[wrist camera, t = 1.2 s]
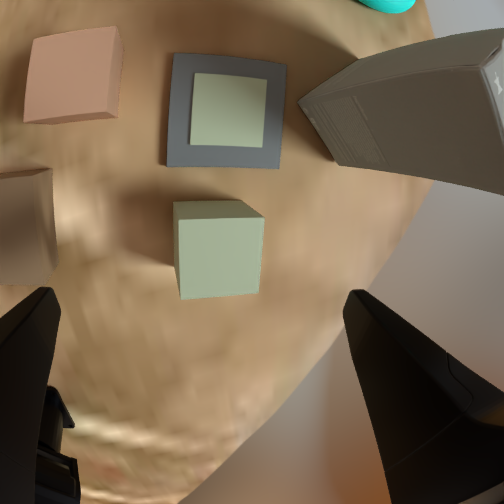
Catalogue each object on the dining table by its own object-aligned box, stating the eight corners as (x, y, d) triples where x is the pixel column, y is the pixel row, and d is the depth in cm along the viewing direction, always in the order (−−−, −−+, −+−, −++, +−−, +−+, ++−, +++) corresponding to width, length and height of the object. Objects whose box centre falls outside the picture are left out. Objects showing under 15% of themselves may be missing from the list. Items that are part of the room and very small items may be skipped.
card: (276, 168, 22) (280, 169, 21) (166, 166, 19) (166, 167, 19) (283, 66, 19) (288, 64, 18) (173, 55, 16) (174, 51, 16)
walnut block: (59, 260, 19) (44, 285, 16) (-10, 262, 17) (-31, 284, 14) (53, 168, 17) (32, 175, 13) (-20, 176, 15) (-47, 185, 11)
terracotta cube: (117, 117, 17) (106, 111, 13) (51, 124, 16) (23, 122, 11) (124, 50, 15) (116, 25, 11) (57, 58, 14) (34, 38, 9)
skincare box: (334, 166, 23) (513, 223, 9) (287, 92, 20) (481, 65, 6) (394, 116, 23) (553, 138, 9) (358, 48, 20) (525, 24, 6)
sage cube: (237, 262, 24) (258, 292, 19) (174, 266, 22) (180, 299, 18) (241, 200, 22) (264, 217, 18) (173, 201, 20) (178, 219, 16)
